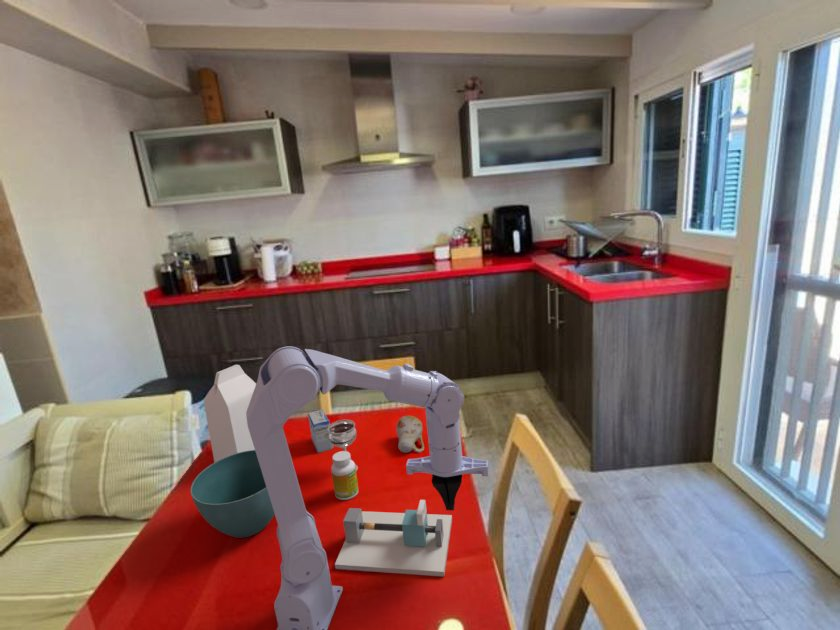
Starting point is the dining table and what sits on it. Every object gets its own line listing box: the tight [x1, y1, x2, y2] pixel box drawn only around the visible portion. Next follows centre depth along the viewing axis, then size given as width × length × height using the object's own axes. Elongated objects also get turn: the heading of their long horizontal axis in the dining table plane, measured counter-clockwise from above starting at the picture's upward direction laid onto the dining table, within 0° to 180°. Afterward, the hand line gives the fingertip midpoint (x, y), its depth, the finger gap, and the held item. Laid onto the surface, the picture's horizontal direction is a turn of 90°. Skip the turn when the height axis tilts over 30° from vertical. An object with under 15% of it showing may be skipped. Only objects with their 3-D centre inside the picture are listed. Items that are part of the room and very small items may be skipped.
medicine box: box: [307, 409, 334, 454], centre depth 122 cm, size 8×4×9 cm, turn 25°
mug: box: [395, 415, 425, 454], centre depth 118 cm, size 8×10×10 cm
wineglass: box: [328, 419, 359, 472], centre depth 108 cm, size 7×7×12 cm
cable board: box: [334, 507, 453, 577], centre depth 84 cm, size 14×20×6 cm
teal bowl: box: [190, 450, 275, 539], centre depth 93 cm, size 18×18×12 cm
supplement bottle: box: [330, 450, 359, 501], centre depth 100 cm, size 5×5×10 cm
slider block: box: [402, 499, 428, 546], centre depth 83 cm, size 4×4×7 cm
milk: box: [203, 364, 257, 463], centre depth 116 cm, size 12×12×26 cm
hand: (450, 506), depth 81 cm, fingers closed
